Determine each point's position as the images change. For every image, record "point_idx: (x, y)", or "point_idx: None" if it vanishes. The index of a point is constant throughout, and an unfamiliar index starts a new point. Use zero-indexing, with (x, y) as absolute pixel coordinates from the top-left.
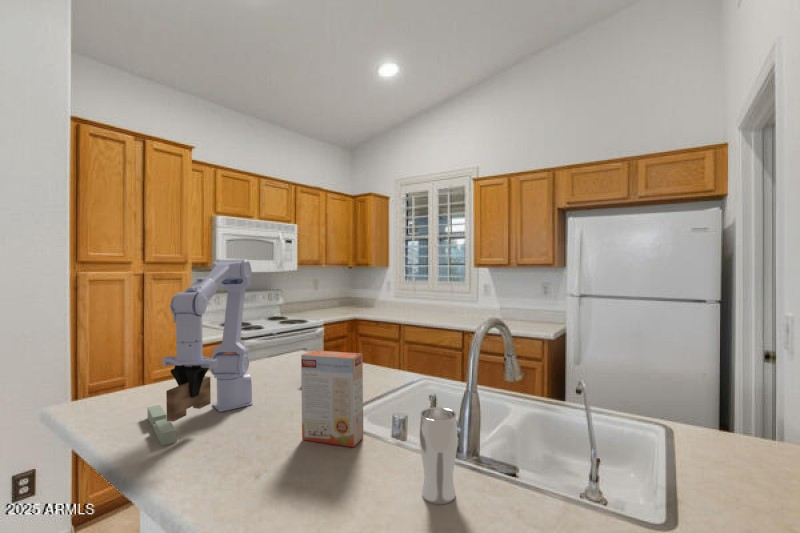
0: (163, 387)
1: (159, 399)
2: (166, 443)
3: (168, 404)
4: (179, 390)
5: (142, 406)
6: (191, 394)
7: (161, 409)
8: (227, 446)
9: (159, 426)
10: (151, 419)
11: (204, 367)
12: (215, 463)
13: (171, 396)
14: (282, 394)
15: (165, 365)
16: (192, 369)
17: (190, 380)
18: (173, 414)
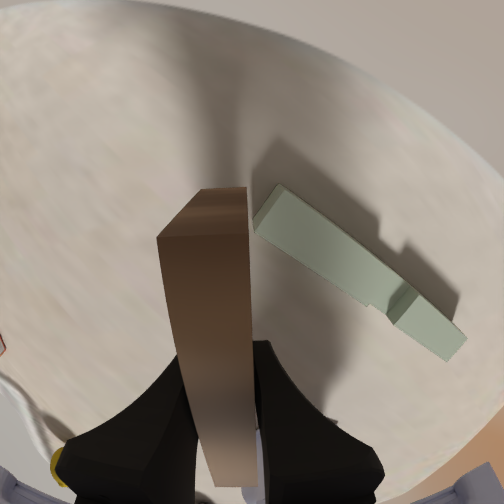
0: (479, 418)
1: (469, 391)
2: (270, 195)
3: (229, 204)
4: (170, 299)
5: (485, 357)
6: None
7: (428, 345)
8: (78, 242)
9: (345, 240)
10: (427, 300)
11: (58, 500)
12: (40, 153)
13: (192, 221)
14: None
15: (467, 475)
16: (108, 496)
17: (148, 414)
18: (197, 195)
